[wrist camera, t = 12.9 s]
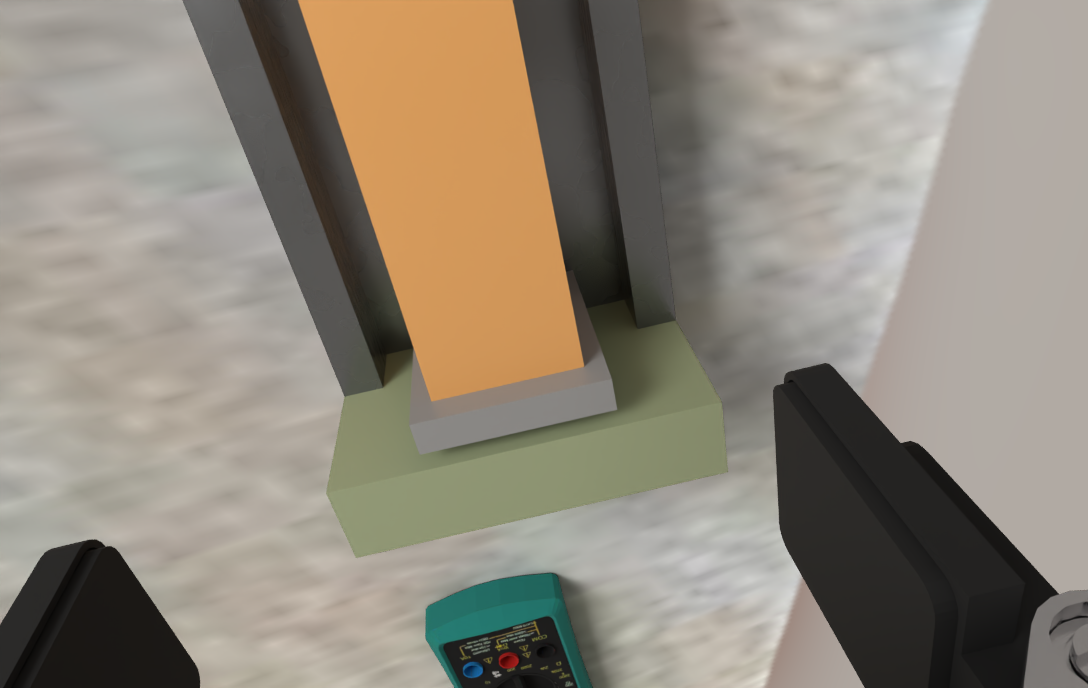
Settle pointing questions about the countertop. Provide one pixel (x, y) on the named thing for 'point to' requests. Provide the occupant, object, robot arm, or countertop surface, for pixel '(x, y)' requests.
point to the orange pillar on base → (461, 214)
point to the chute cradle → (374, 312)
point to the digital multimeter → (507, 636)
